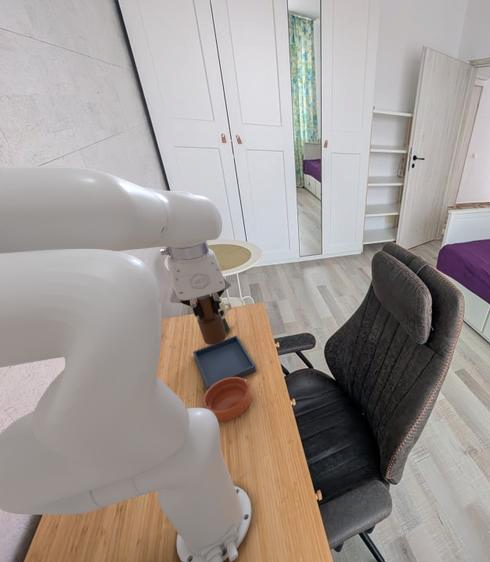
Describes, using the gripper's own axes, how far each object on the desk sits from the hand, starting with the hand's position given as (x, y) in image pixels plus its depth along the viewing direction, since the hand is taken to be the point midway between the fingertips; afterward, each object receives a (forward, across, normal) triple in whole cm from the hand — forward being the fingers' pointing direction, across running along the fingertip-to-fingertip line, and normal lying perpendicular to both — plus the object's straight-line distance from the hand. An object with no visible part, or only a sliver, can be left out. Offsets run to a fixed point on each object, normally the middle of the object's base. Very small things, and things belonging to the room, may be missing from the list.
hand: (208, 313), depth 72 cm
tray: (+24, +1, +5) cm, 24 cm away
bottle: (+8, 0, 0) cm, 8 cm away
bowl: (+24, -2, -10) cm, 26 cm away
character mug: (+24, +4, +22) cm, 33 cm away
